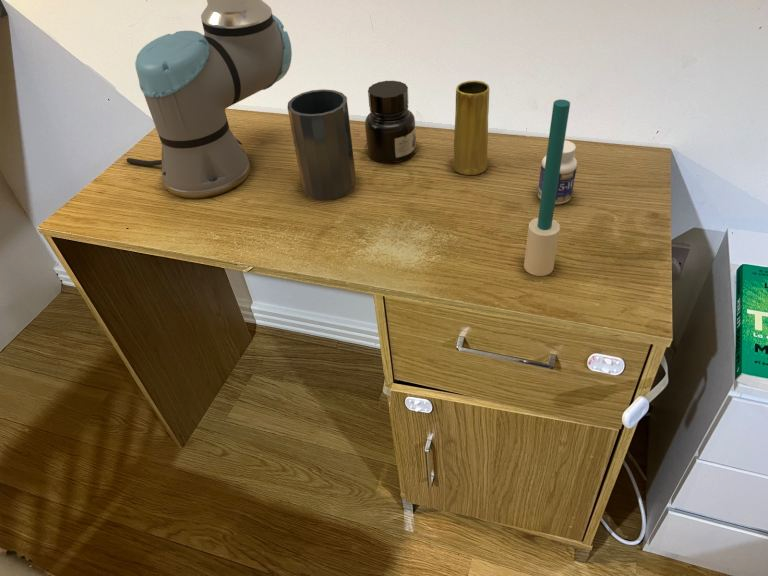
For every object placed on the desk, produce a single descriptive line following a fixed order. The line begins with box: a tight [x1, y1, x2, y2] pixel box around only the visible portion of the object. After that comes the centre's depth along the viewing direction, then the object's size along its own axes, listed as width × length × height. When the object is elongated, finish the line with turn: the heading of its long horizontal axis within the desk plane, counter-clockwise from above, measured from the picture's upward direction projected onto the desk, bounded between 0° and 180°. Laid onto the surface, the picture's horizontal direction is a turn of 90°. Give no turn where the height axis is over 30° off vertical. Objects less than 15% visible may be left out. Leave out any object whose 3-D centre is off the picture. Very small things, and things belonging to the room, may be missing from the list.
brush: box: [523, 99, 571, 277], centre depth 74 cm, size 4×4×24 cm
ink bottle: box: [364, 80, 417, 163], centre depth 104 cm, size 10×9×12 cm
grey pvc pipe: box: [287, 88, 357, 201], centre depth 96 cm, size 9×9×15 cm
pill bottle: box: [537, 139, 578, 205], centre depth 91 cm, size 5×5×9 cm
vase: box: [452, 80, 490, 176], centre depth 98 cm, size 6×6×14 cm
